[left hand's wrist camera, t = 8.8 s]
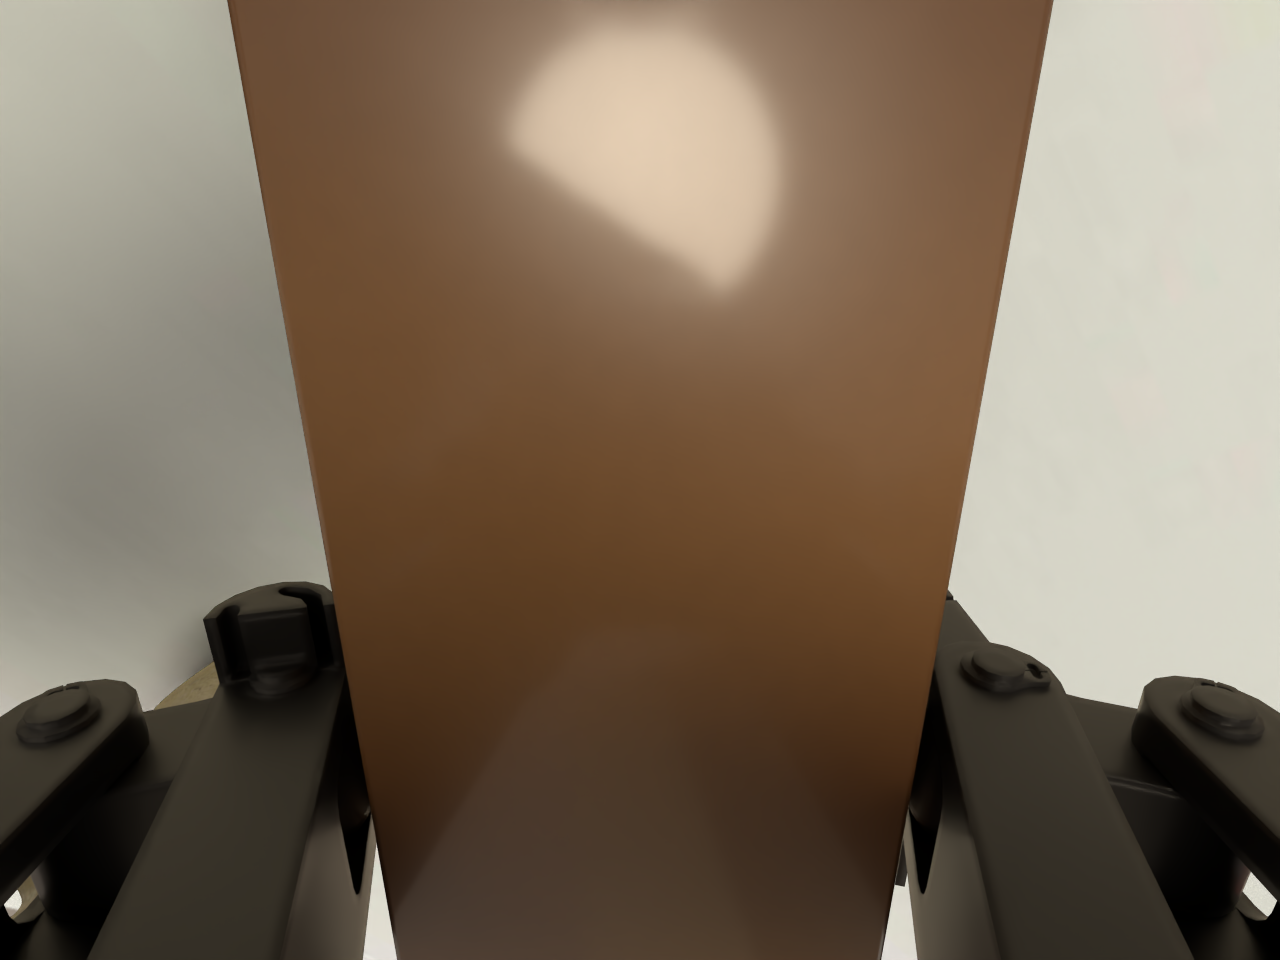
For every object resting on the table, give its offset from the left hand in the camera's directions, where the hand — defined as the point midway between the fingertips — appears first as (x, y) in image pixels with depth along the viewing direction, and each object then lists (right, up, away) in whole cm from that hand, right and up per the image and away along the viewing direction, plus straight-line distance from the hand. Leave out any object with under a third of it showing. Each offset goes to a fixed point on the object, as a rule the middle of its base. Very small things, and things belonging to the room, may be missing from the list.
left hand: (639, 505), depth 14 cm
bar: (0, +7, -2) cm, 7 cm away
